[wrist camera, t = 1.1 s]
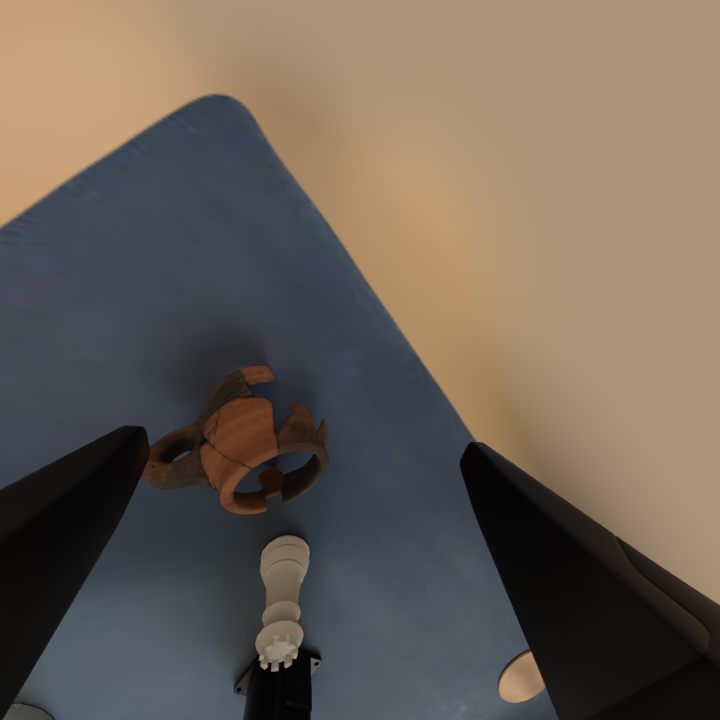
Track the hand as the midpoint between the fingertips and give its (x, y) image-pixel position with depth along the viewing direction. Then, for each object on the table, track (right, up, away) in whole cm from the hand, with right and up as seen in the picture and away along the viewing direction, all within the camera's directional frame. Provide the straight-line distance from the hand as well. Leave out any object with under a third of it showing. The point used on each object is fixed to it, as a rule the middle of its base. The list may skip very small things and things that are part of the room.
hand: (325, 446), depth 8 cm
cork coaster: (+24, -41, +30) cm, 56 cm away
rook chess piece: (-6, -16, +18) cm, 25 cm away
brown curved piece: (-8, -3, +15) cm, 18 cm away
